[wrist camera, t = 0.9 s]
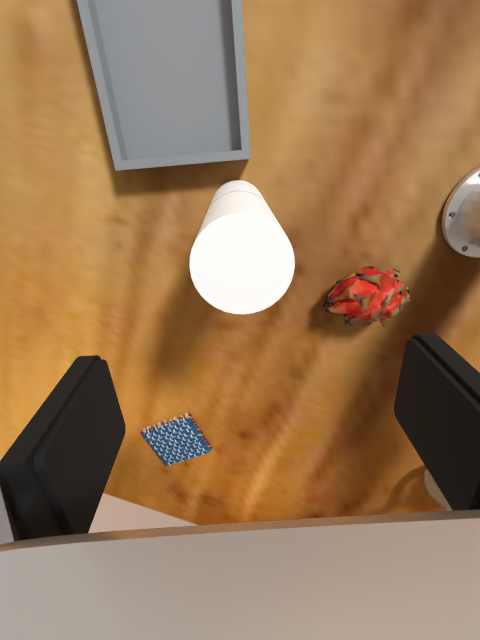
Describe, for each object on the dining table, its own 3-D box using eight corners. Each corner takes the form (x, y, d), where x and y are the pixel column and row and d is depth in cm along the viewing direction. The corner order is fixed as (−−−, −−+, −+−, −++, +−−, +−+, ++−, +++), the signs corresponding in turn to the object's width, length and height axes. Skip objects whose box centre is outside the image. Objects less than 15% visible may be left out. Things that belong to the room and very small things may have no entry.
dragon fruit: (398, 281, 52) (319, 289, 54) (410, 247, 44) (318, 258, 47) (410, 331, 48) (324, 338, 50) (426, 303, 41) (325, 313, 43)
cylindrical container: (221, 171, 43) (209, 194, 21) (272, 192, 44) (312, 236, 22) (204, 224, 46) (176, 295, 24) (252, 242, 47) (269, 326, 25)
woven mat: (139, 425, 63) (136, 434, 61) (190, 408, 61) (188, 416, 60) (166, 461, 68) (164, 469, 66) (214, 445, 66) (213, 454, 64)
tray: (234, -96, 32) (234, -121, 29) (249, 158, 42) (250, 158, 39) (70, -78, 33) (53, -102, 29) (124, 169, 43) (115, 170, 39)
